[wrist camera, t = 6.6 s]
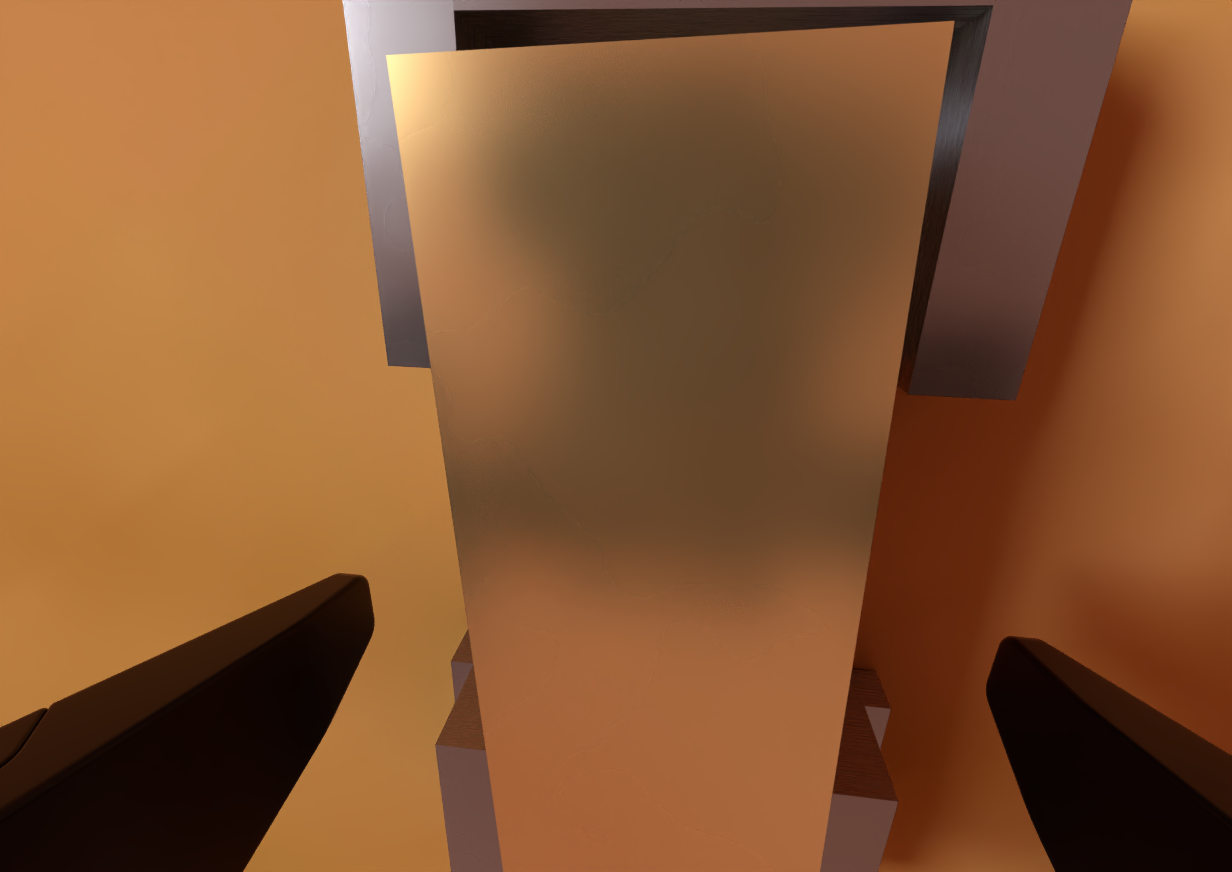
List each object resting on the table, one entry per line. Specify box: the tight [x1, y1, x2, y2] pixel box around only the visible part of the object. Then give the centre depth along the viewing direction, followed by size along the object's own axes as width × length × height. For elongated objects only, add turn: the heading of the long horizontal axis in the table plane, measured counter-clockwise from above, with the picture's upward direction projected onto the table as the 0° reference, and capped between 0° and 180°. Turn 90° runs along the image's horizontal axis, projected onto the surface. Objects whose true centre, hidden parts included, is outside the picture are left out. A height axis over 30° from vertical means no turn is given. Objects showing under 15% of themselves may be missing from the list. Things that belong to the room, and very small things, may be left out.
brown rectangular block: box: [386, 21, 955, 872], centre depth 8 cm, size 13×4×5 cm, turn 1°
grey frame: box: [343, 0, 1132, 872], centre depth 10 cm, size 17×9×3 cm, turn 179°
